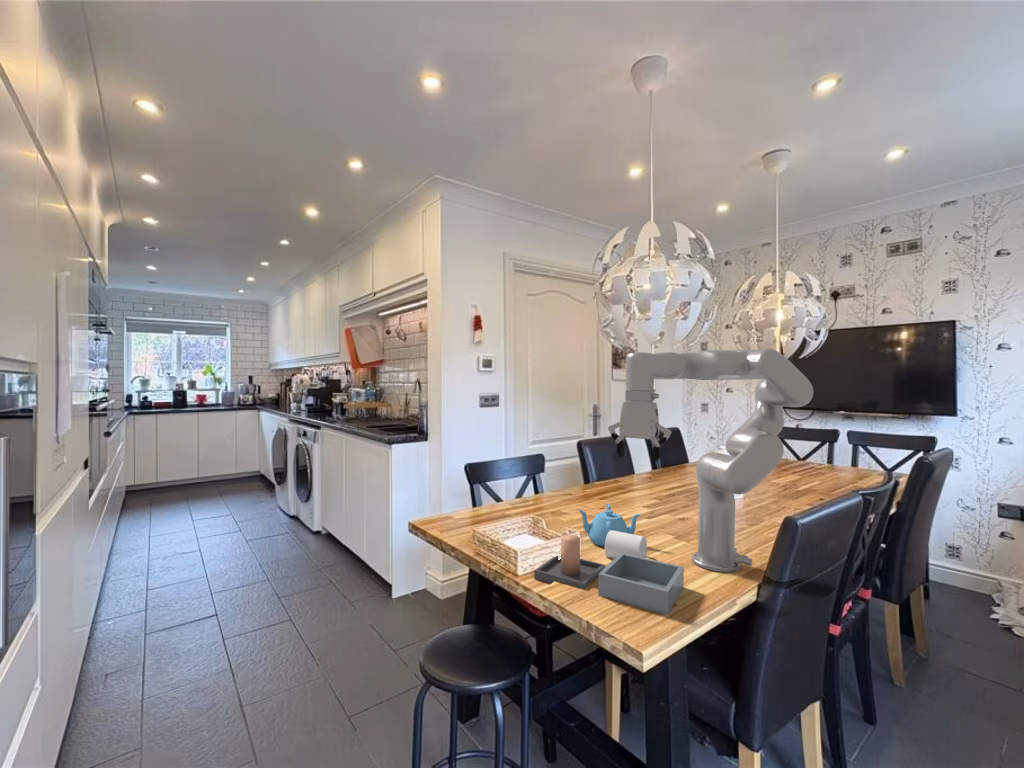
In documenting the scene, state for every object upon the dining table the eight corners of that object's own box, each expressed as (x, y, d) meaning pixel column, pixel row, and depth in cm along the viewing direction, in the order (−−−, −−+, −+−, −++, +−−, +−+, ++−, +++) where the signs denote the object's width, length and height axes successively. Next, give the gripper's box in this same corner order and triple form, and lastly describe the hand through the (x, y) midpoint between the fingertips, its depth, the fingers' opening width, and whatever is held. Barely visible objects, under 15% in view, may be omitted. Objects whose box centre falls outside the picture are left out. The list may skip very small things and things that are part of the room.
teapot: (607, 554, 136) (608, 520, 136) (574, 538, 149) (575, 507, 148) (641, 545, 144) (641, 512, 144) (607, 531, 156) (608, 501, 156)
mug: (638, 570, 125) (639, 541, 124) (604, 562, 130) (604, 534, 130) (650, 556, 135) (651, 529, 135) (618, 549, 140) (618, 523, 140)
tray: (605, 572, 122) (605, 564, 122) (584, 593, 111) (584, 584, 111) (558, 560, 130) (558, 553, 130) (534, 578, 118) (534, 570, 118)
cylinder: (582, 570, 121) (582, 536, 121) (575, 577, 117) (575, 542, 117) (565, 566, 124) (565, 533, 124) (557, 573, 119) (557, 539, 119)
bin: (683, 590, 113) (683, 566, 112) (667, 619, 99) (667, 591, 99) (620, 575, 121) (621, 552, 121) (598, 599, 108) (598, 574, 108)
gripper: (674, 398, 124) (673, 460, 124) (613, 395, 133) (612, 454, 133) (668, 398, 118) (666, 464, 118) (604, 396, 127) (603, 457, 127)
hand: (638, 459), depth 126 cm, fingers open, 9 cm apart
